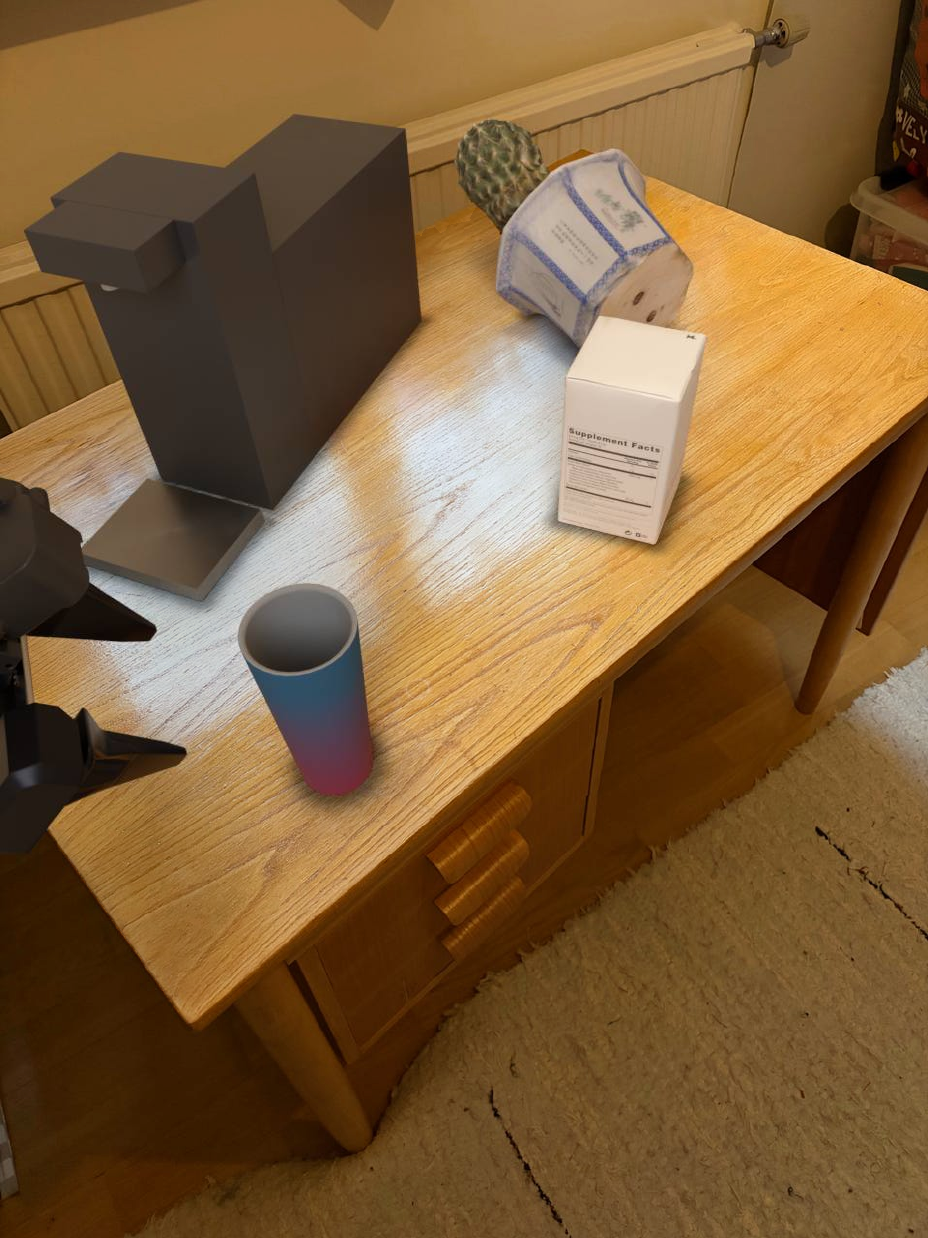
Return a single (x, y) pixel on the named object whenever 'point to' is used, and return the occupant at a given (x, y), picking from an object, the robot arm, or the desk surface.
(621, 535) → the white product box
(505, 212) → the potted plant
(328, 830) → the desk surface
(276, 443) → the coffee maker
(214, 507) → the grey tray
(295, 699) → the cup
